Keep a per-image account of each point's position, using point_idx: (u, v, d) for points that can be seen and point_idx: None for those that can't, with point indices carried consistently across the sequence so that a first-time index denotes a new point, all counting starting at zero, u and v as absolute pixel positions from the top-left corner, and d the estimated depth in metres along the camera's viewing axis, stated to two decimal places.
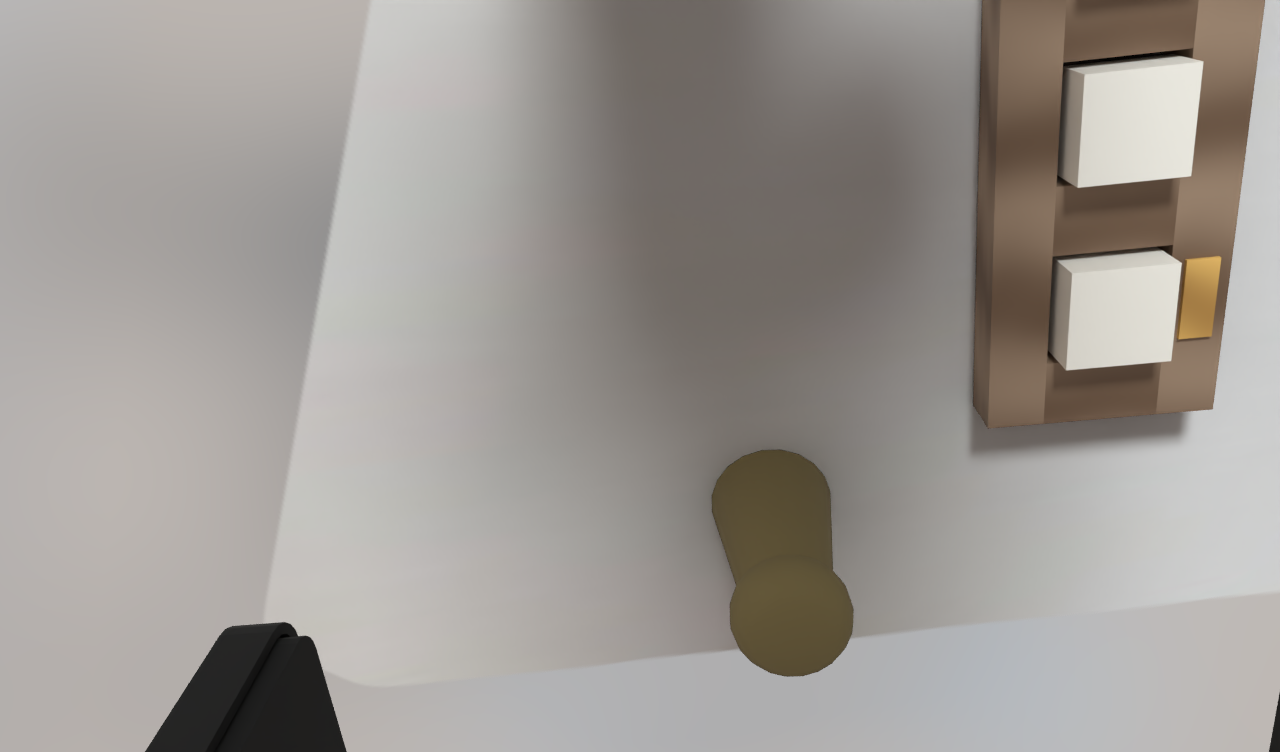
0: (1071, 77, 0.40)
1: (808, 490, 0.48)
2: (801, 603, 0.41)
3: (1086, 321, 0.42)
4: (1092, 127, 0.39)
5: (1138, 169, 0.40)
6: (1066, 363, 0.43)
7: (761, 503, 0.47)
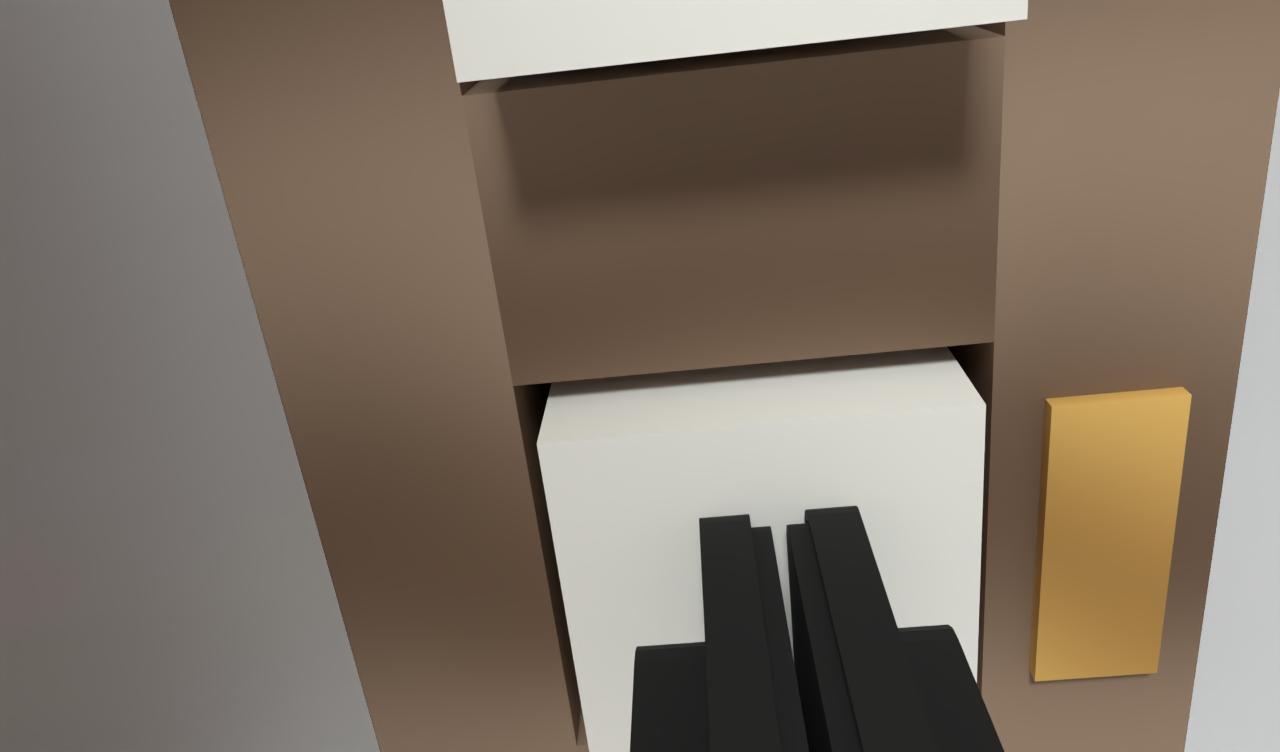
0: None
1: None
2: None
3: (634, 616, 0.11)
4: None
5: None
6: (590, 751, 0.12)
7: None
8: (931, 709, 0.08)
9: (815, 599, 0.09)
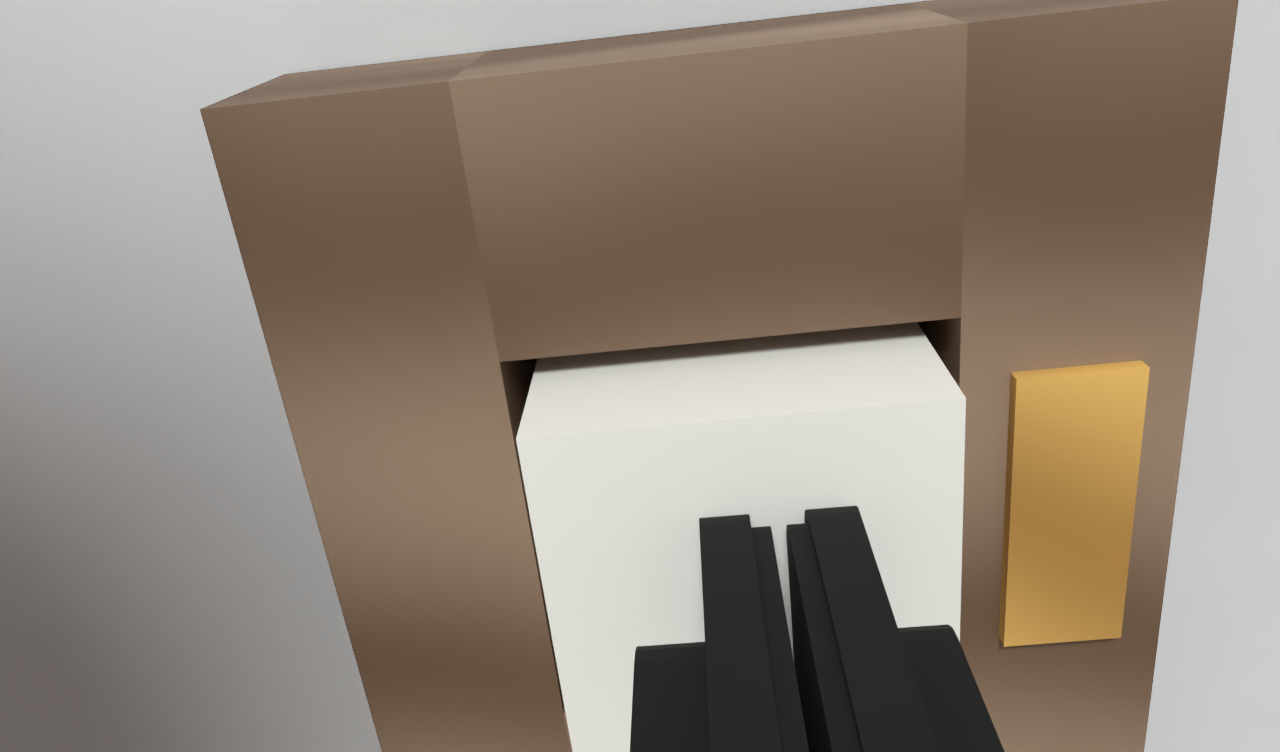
0: None
1: None
2: None
3: None
4: None
5: None
6: None
7: None
8: (931, 709, 0.08)
9: (815, 599, 0.09)
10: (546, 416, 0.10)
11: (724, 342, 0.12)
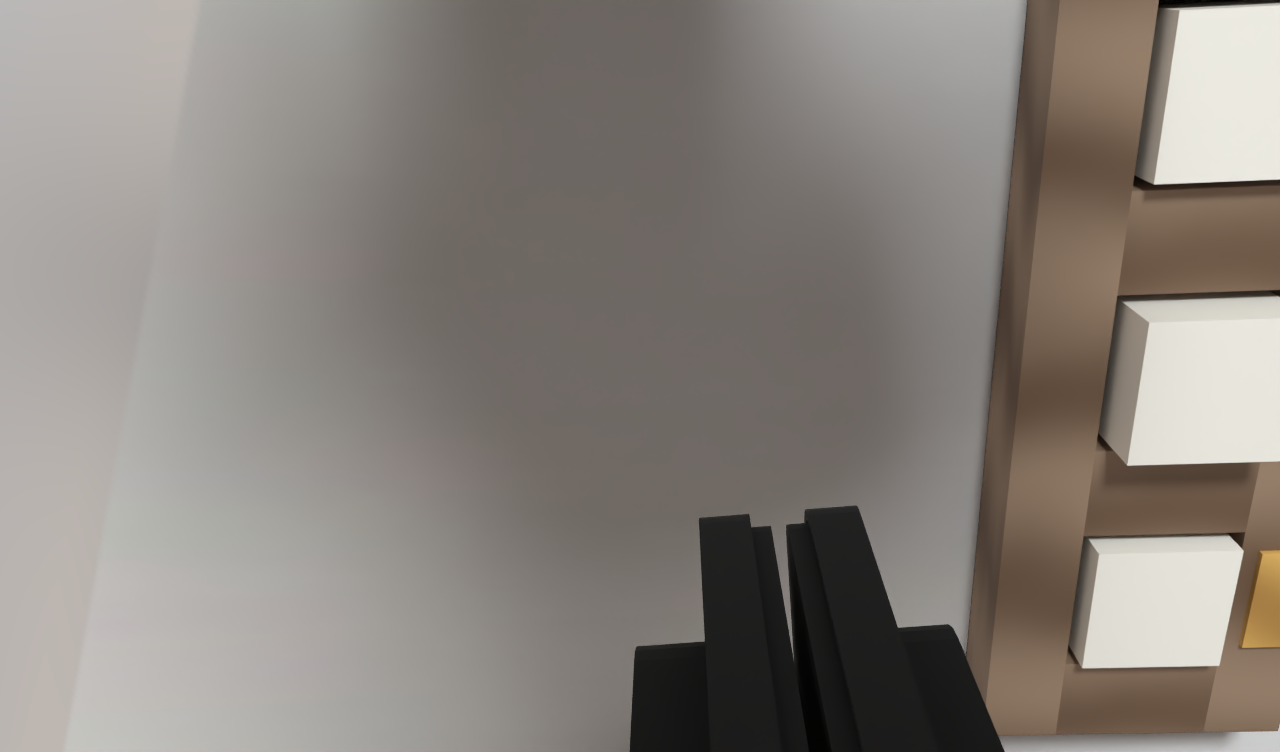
0: (1127, 316, 0.29)
1: None
2: None
3: (1113, 611, 0.32)
4: (1154, 390, 0.28)
5: (1211, 448, 0.29)
6: (1083, 659, 0.33)
7: None
8: (931, 709, 0.08)
9: (815, 599, 0.09)
10: (1182, 9, 0.26)
11: (1229, 2, 0.27)
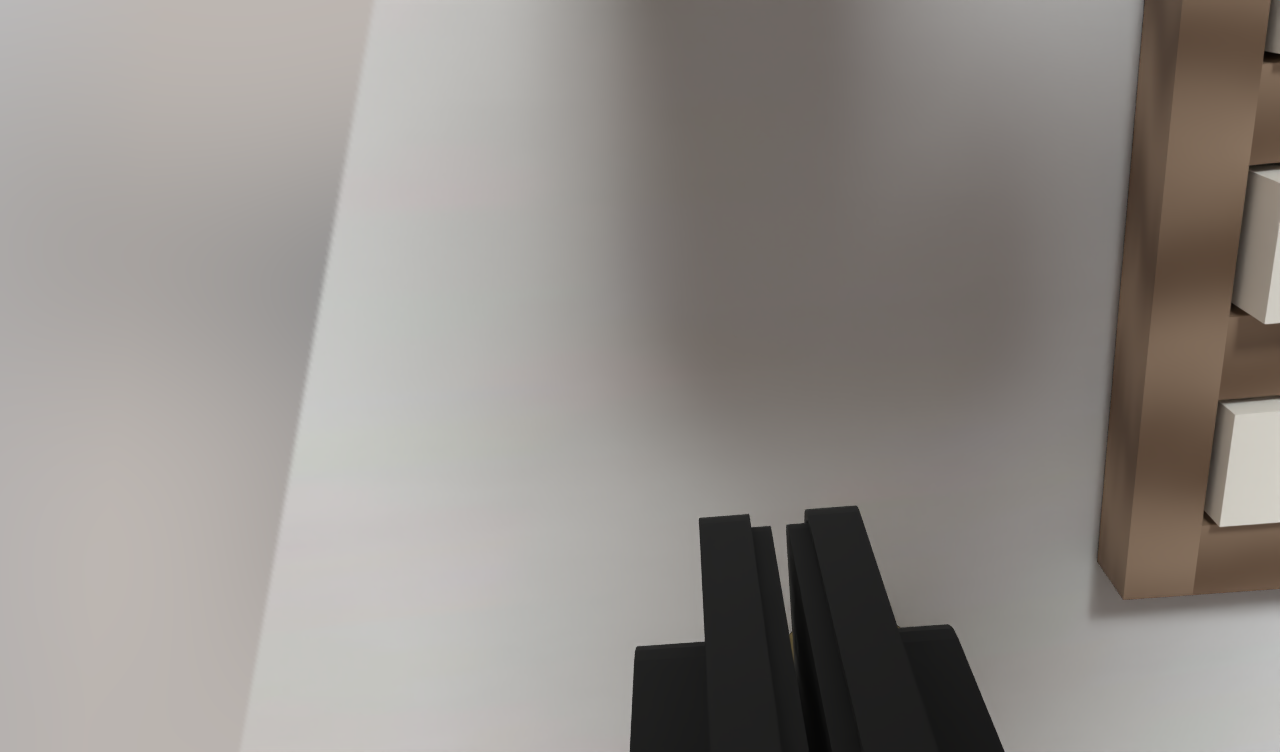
0: (1259, 184, 0.31)
1: None
2: None
3: (1249, 469, 0.34)
4: None
5: None
6: (1220, 518, 0.35)
7: None
8: (931, 709, 0.08)
9: (815, 599, 0.09)
10: None
11: None
